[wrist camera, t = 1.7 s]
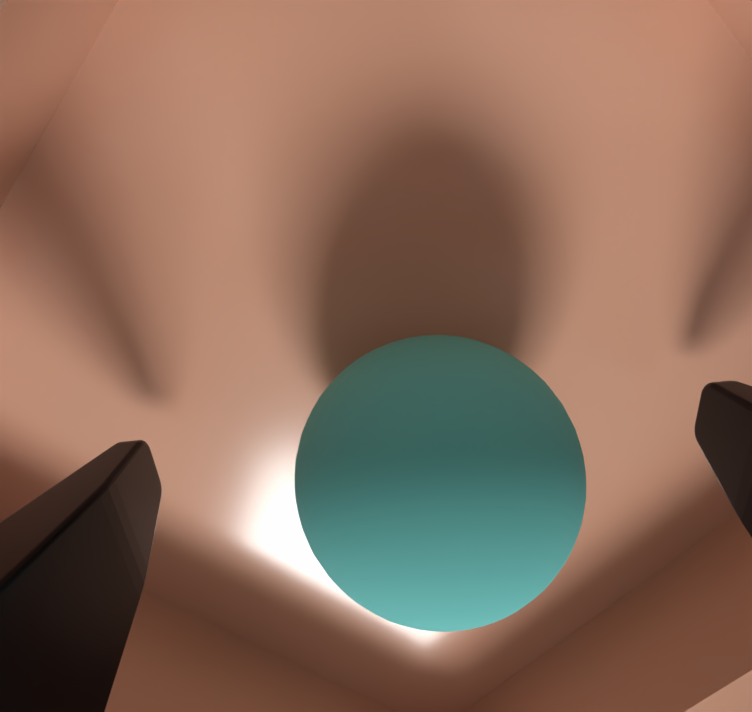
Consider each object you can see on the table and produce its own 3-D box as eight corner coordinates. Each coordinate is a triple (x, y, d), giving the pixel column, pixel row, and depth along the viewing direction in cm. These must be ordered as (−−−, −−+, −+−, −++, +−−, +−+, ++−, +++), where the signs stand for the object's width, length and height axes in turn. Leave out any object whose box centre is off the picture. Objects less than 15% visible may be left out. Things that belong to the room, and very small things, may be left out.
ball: (582, 384, 10) (713, 564, 7) (426, 524, 11) (466, 738, 8) (410, 241, 9) (459, 368, 5) (255, 418, 10) (209, 616, 6)
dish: (1034, 325, 11) (1267, 416, 8) (437, 748, 16) (456, 889, 13) (353, -688, 5) (367, -1443, 3) (-218, 449, 10) (-410, 586, 8)
